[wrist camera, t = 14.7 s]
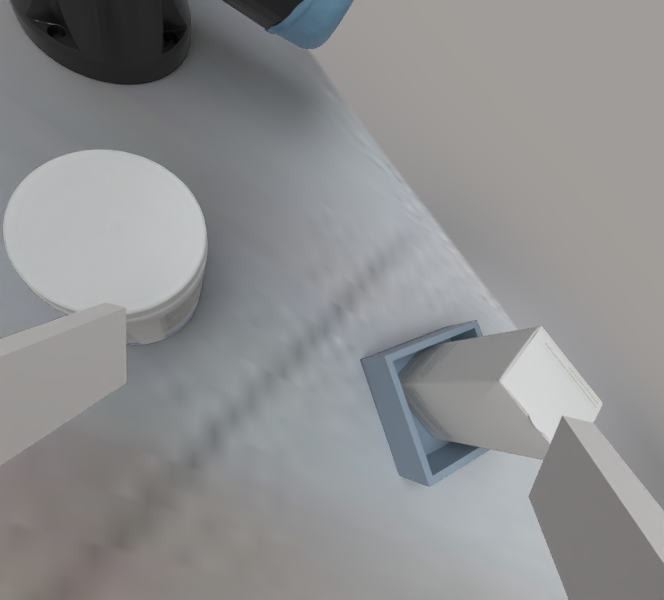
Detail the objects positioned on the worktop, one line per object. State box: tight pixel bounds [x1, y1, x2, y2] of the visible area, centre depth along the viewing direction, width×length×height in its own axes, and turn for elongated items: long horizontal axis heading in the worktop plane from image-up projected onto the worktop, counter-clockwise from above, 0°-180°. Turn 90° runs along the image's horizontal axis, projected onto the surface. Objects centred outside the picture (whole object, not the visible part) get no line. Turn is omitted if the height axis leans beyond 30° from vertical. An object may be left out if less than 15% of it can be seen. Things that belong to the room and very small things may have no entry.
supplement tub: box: [3, 149, 208, 345], centre depth 26 cm, size 10×10×15 cm
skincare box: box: [398, 326, 603, 460], centre depth 33 cm, size 8×7×16 cm
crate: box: [361, 320, 490, 487], centre depth 39 cm, size 12×12×5 cm
